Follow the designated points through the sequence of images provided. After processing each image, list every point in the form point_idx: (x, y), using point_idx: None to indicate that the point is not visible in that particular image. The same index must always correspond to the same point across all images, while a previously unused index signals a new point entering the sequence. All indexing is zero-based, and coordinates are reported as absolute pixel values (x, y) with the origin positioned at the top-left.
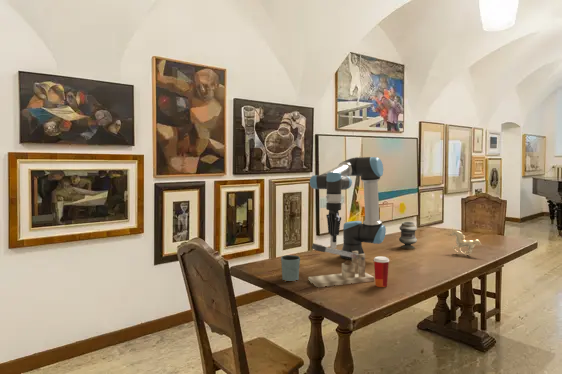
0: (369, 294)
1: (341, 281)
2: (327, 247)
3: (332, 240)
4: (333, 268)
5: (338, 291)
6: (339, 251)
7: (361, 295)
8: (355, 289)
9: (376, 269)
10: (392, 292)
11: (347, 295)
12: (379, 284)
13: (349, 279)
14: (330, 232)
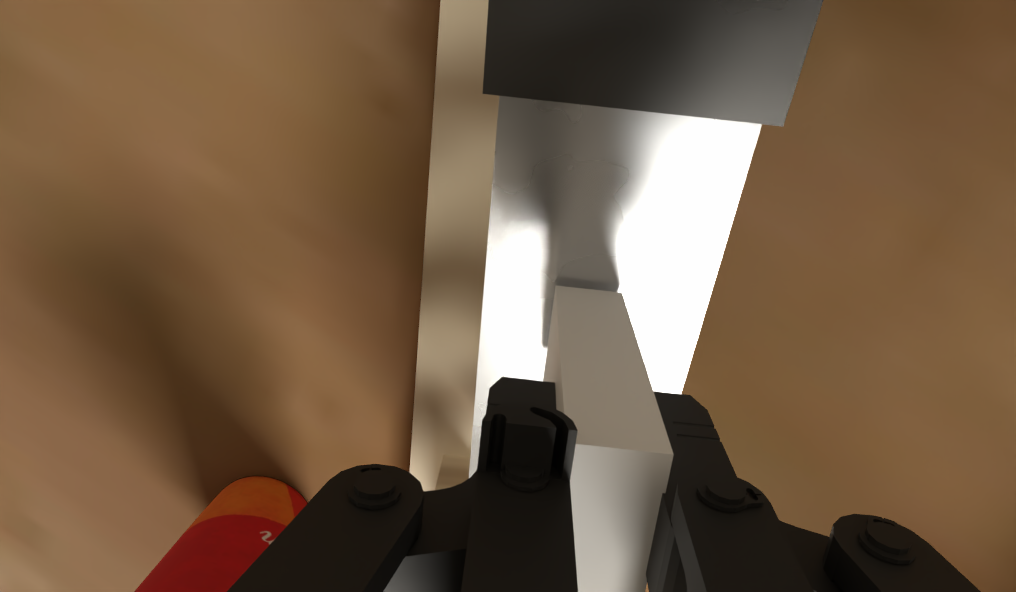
0: (68, 286)
1: (427, 222)
2: (650, 231)
3: (558, 389)
4: (999, 462)
5: (241, 58)
6: (477, 394)
7: (60, 203)
8: (242, 255)
9: (170, 580)
10: (67, 486)
11: (95, 74)
12: (217, 495)
13: (433, 328)
14: (720, 532)
